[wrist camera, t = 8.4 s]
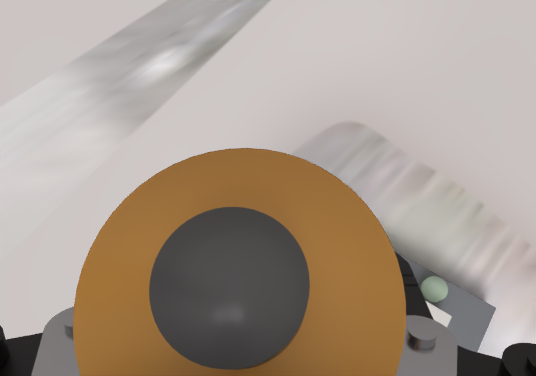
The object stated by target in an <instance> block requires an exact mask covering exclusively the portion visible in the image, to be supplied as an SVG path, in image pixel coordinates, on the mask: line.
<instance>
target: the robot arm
mask: <svg viewBox="0 0 536 376" xmlns="http://www.w3.org/2000/svg"><path fill="white" fill-rule="evenodd" d="M395 255H396V257H397V260H398V264H399V267H400V271H401V275H402V278H403V285H404V292H405V299H406V329H405V337H404V345H403V350H402V354H401V358H400V362H399V366H398V370H397V373H396V375H395V376H536V344H531V343H517V344H513V345H511V346H508V347H507V348H506V349H505V350H504V352H503V355H502V359H500V358H496V357H493V356H489V355H485V354H481V353H477V352H474V351H471V350H468V349H465V348H463V347H461V346H459V345H457V341H456V338H455V336H454V335H453V333H452V332H451V331H450V330H449V329H448V328H447V327H445V326H444V325H442V324H441V323H439V322H437V321H435V320H434V319H433V317H432V315H431V312H430V310H429V308H428V306H427V303H426V301H425V299H424V296H423V294H422V292H421V290H420V287H418V283H417V280H416V278H415V277H414V273H413V271H412V269H411V267H410V264H409V262H407V261H406V260H405V259H404V258H403V257H402V256H400V255H399V254H398V253H397V252H395ZM73 311H74V307H72V308H69V309H66V310H64V311H62V312H60V313H59V314H57V315H56V316H54V317H53V318H52V319H51V320H50V321H49V322H48V323H47V325H46V326H45V328H44V331H43V333H39V334H35V335H29V336H23V337H18V338H12V339H7V340H6V339H5V336H4V333H3V329H2V327H1V326H0V376H80V372H79V368H78V364H77V360H76V355H75V346H74V337H73Z"/></svg>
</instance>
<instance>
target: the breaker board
mask: <svg viewBox="0 0 536 376" xmlns="http://www.w3.org/2000/svg"><path fill="white" fill-rule="evenodd" d="M394 252H396V251H394ZM398 254H399V253H398ZM399 255H400V256H402V257H403V258H404V259H405V260H406V261H407V262H409V264H410V267H411V269H412V271H413V273H414V277H415V278H416V280H417V283H418V287H420V290H421V292H422V294H423V296H424V299H425V301H426V303H427V306H428V308H429V310H430V312H431V315H432V317H433V319H434V320H435V321H437V322H439V323H441V324H442V325H444V326H445V327H447V328H448V329H449V330H450V331H451V332H452V333H453V335H454V336H455V338H456V341H457V345H459V346H461V347H463V348H465V349H468V350H471V351H474V352H477V351H478V349H479V346H480V344H481V342H482V339H483V337H484V335H485V332H486V330H487V328H488V325H489V323H490V321H491V319H492V316H493V314H494V312H495V309H496V308H495V307H493V306H492V305H490V304H488V303H486V302H484V301H483V300H481V299H479V298H477V297H476V296H474V295H472V294H470V293H468V292H467V291H465V290H463V289H461V288H460V287H458V286H456V285H454V284H452V283H451V282H449V281H447V280H445V279H444V278H442V277H440V276H438V275H436V274H435V273H433V272H431V271H429V270H428V269H426V268H424V267H422V266H420V265H419V264H417V263H415V262H413V261H412V260H410V259H408V258H406V257H404V256H403V255H401V254H399Z"/></svg>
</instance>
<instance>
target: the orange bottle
mask: <svg viewBox="0 0 536 376" xmlns="http://www.w3.org/2000/svg"><path fill="white" fill-rule="evenodd" d="M405 329H406V299H405V292H404V285H403V278H402V275H401V271H400V267H399V264H398V260H397V257H396V255H395V252H394V250H393V247H392V245H391V243H390V240H389V238H388V236H387V234H386V233H385V231H384V229H383V228H382V226H381V224H380V222H379V221H378V219H377V218H376V216H375V215H374V214H373V213H372V211H371V210H370V209H369V207H368V206H367V205H366V203H365V202H364V201H363V200H362V199H361V198H360V197H359V196H358V195H357V194H356V193H355V192H354V191H353V190H352V189H351V188H349V187H348V186H347V185H346V184H345V183H343V182H342V181H341V180H340V179H338V178H337V177H336V176H334V175H332V174H331V173H329V172H327V171H326V170H324V169H323V168H321V167H319V166H317V165H315V164H313V163H310V162H308V161H306V160H304V159H301V158H298V157H295V156H292V155H289V154H285V153H281V152H276V151H271V150H264V149H252V148H240V149H225V150H219V151H213V152H208V153H204V154H201V155H197V156H194V157H190V158H188V159H186V160H183V161H181V162H179V163H176V164H173V165H172V166H170V167H168V168H166V169H165V170H162V171H161V172H159V173H157V174H155V175H154V176H153V177H151V178H150V179H148V180H147V181H146V182H144V183H143V184H141V185H140V186H139V187H138V188H137V189H136V190H134V191H133V192H132V193H131V194H130V195H129V196H128V197H127V198H125V200H124V201H123V202H122V203H121V204H120V205H119V206H118V207H117V209H116V210H115V211H114V212H113V213H112V214H111V216H110V217H109V219H108V220H107V221H106V223H105V225H104V226H103V227H102V229H101V230H100V232H99V234H98V235H97V237H96V239H95V241H94V243H93V245H92V247H91V248H90V251H89V253H88V256H87V258H86V260H85V263H84V265H83V268H82V271H81V275H80V279H79V283H78V286H77V291H76V298H75V304H74V311H73V337H74V346H75V355H76V360H77V364H78V368H79V372H80V376H395V375H396V373H397V370H398V366H399V362H400V358H401V354H402V350H403V345H404V337H405Z"/></svg>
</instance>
